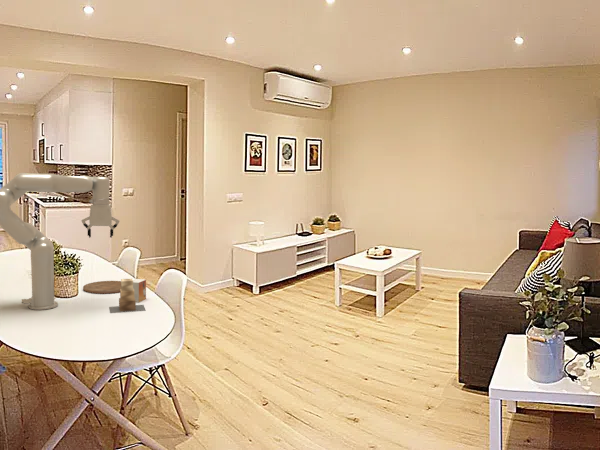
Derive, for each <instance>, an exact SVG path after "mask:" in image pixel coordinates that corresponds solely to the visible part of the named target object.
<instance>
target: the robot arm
mask: <svg viewBox="0 0 600 450" xmlns="http://www.w3.org/2000/svg"><path fill="white" fill-rule="evenodd" d="M90 191H92V198H91V199H89V203H91V205H90V209H89V216H87V217H85V218H83V219H82V220H81V223H82V225H83V227H85V229H86V230H87V236H88V238H89V239H90V238H92V229H91V228H92V227H109V228H110V229H109V231H110V232H109V238H113V236H114V229H116V228H117V227H118V226H119V223H120V219H117V218H115V217H113V213H112V206H111V205H110V178H109V177H108V176H107V177H106V176H89V175H80V176H79V175H60V174H54V173H32V172H31V173H27V172H19V173H18V174H16V175H14V177H13V178H12V179H11V180H10V181H9V182H7V183H6V184H5V185H3V186H2V187H1V188H0V228H1V229H2V230H3V231H4V232H6V233H7V234H8V235H9V236H10V237H11V239H14V241H15V242H16V243H18V244H19V245H24V246H25V247H26V248H28V249H29V250H30V267H31V268H30V269H31V272H30V273H31V274H30V275H31V297H29V298H22V299H21V304H24V305H27V304H28V309H30V310H34V311H35V310H36V311H38V310H39V311H44V310H50V309H54V308H56V307H58V306H59V303H58V301H55V267H54V265H55V261H54V255H55V254H54V251H55V249H54V248H55V247H54V243H53V242H52V241H51V240H50V239H49V238H48V236H46V235H45V234H44V233H43V232H42V231H40V230H39V229H38V228H37V227H36V226H35V225H34V224H32V223H30V222H25V221H24V220H23V219H22V218H21V217H19V215H17V214H16V213H15V212H14V211H13V210H12V209H11V206H12V205H13V204H14V203H15V202H17V201H18V200H19V199H20V198H21V197H23V196H24V195H25V194H26V193H33V192H34V193H36V192H37V193H87V192H88V193H89V192H90ZM87 221H89V224H87V223H86V222H87ZM113 222H115V223H114V224H112V223H113Z"/></svg>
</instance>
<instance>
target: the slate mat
mask: <svg viewBox="0 0 600 450" xmlns="http://www.w3.org/2000/svg"><path fill="white" fill-rule="evenodd" d="M108 310H109V313H110V314H116V313H117V314H118V313H130V312H131V313H132V312H133V313H134V312H146V307H145V305H144V304H136V310H131V311H120V309H119V305H118V306H117V305H116V306H109V307H108Z"/></svg>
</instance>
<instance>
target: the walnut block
mask: <svg viewBox="0 0 600 450" xmlns="http://www.w3.org/2000/svg"><path fill="white" fill-rule="evenodd" d="M136 305H137V302H136V301H135V298H134V301H122V302H121V299H120V297H119V298H118V306H119V309H120V311H131V310H136Z"/></svg>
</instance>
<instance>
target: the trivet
mask: <svg viewBox="0 0 600 450" xmlns="http://www.w3.org/2000/svg"><path fill="white" fill-rule="evenodd" d="M120 289H121V280H100V281H94V282H89V283H86V284H85V285H83V287H82V291H83V292H84V293H87V294H92V295H112V294H120Z"/></svg>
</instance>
